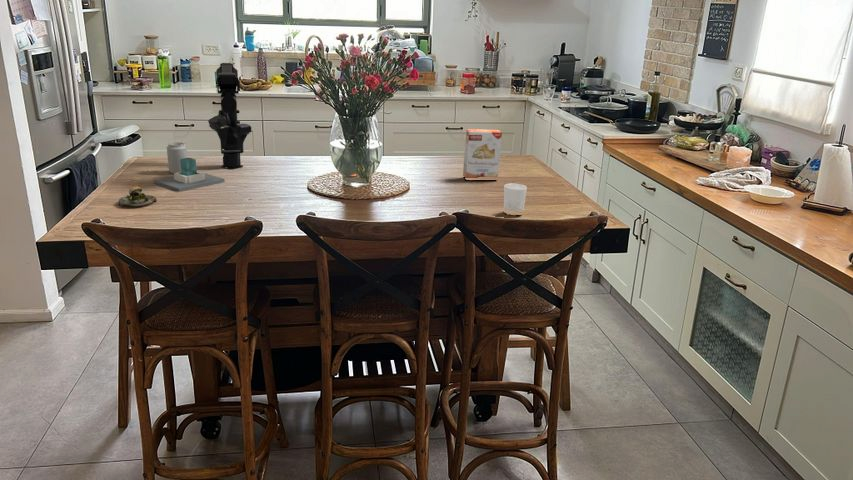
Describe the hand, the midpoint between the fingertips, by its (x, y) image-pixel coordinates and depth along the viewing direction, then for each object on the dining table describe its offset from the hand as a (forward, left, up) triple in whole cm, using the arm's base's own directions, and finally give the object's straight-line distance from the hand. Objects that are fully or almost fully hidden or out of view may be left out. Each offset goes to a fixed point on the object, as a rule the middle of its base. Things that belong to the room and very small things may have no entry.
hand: (231, 148), depth 257 cm
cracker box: (-72, +70, -13) cm, 101 cm away
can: (+9, -23, -13) cm, 28 cm away
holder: (+15, -7, -12) cm, 21 cm away
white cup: (-40, +104, -13) cm, 112 cm away
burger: (+43, +4, -13) cm, 45 cm away
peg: (+15, -7, -11) cm, 20 cm away
